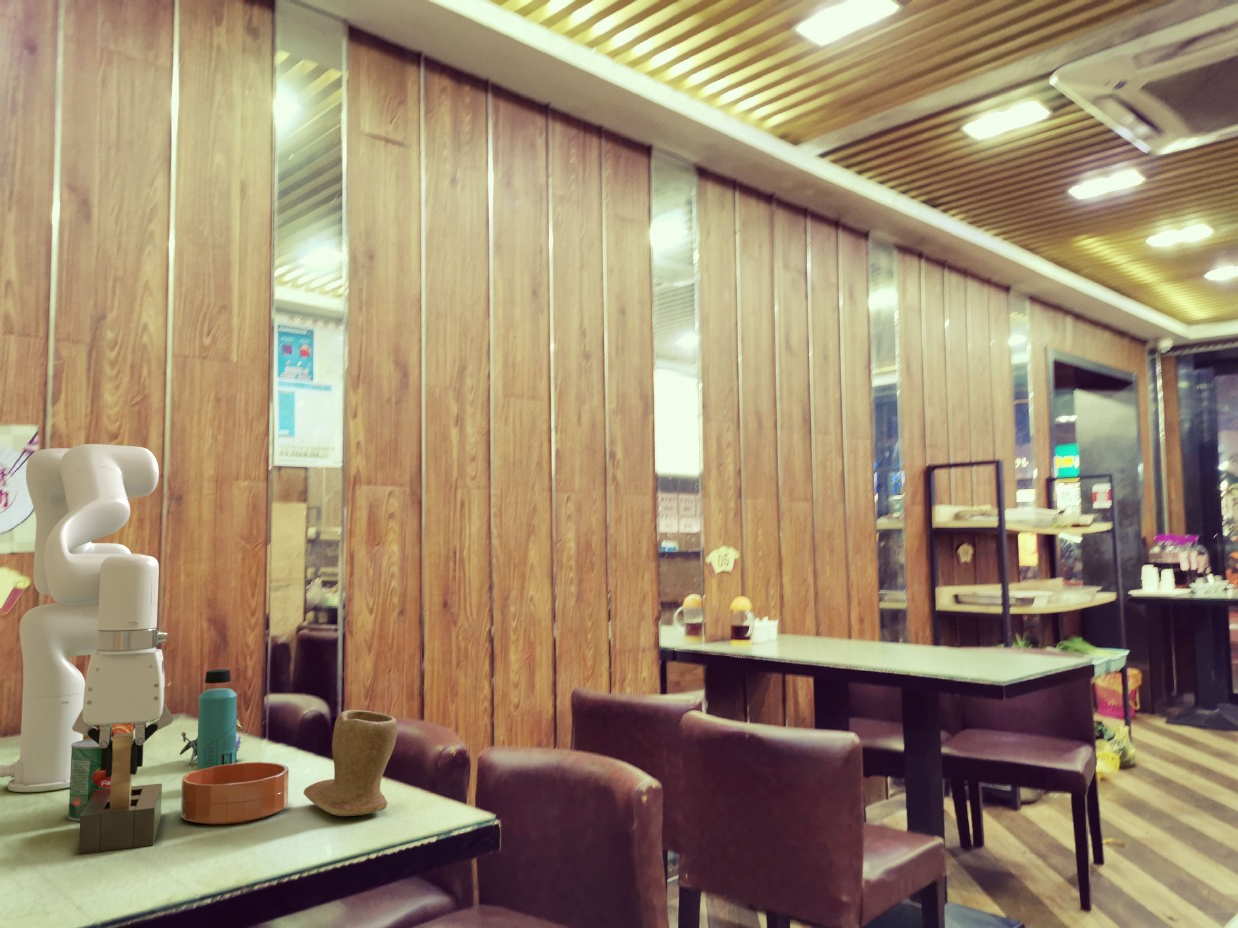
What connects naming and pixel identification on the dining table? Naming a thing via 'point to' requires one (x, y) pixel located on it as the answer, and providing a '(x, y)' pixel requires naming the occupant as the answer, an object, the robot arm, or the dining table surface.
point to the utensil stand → (120, 820)
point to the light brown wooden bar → (121, 771)
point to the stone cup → (356, 764)
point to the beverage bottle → (216, 723)
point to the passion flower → (194, 744)
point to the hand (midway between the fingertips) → (121, 772)
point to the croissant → (117, 729)
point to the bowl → (234, 792)
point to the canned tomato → (85, 775)
